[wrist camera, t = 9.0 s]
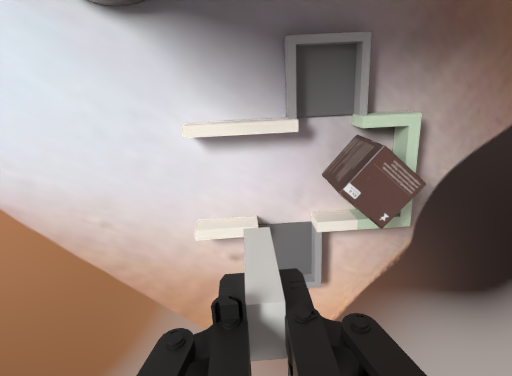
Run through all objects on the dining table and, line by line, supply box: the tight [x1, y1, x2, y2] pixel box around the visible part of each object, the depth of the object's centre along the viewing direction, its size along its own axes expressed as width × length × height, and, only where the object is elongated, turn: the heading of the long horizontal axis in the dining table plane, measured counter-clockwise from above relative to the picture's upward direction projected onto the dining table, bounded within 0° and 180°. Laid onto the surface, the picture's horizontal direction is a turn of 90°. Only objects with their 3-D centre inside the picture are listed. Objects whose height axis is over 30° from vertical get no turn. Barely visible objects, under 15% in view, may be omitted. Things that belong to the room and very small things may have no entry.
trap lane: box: [182, 31, 422, 288], centre depth 35 cm, size 28×24×3 cm
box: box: [322, 135, 426, 228], centre depth 33 cm, size 6×6×7 cm
